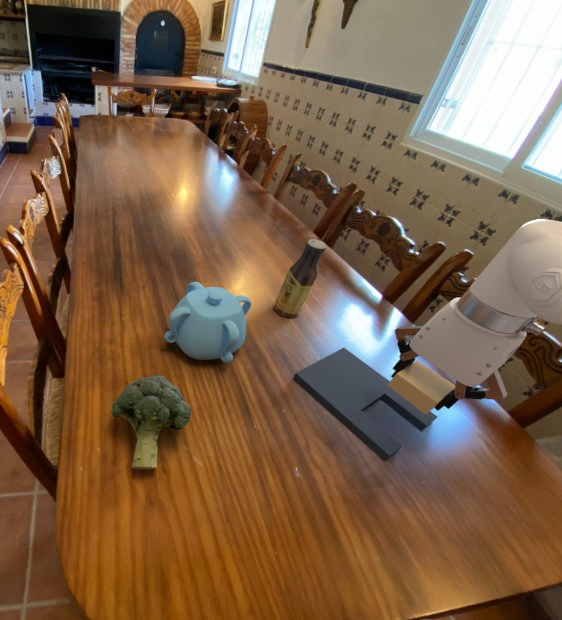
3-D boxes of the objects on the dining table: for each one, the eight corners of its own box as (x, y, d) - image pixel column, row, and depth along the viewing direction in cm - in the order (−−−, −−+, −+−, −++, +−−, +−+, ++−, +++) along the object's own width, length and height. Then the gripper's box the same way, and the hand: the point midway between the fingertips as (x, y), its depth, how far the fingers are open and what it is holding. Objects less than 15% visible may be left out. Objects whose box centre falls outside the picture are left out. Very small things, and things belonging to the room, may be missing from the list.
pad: (445, 398, 60) (458, 387, 58) (425, 414, 57) (437, 403, 55) (407, 371, 64) (417, 359, 62) (386, 385, 62) (396, 373, 60)
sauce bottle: (271, 301, 93) (298, 233, 80) (295, 305, 93) (326, 236, 80) (275, 317, 88) (304, 247, 75) (300, 321, 88) (335, 251, 75)
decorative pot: (224, 382, 72) (241, 333, 63) (154, 348, 77) (161, 299, 69) (248, 335, 83) (266, 288, 74) (186, 309, 88) (195, 262, 80)
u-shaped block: (432, 422, 68) (437, 416, 66) (384, 461, 61) (390, 455, 60) (340, 352, 80) (343, 347, 79) (292, 378, 74) (295, 372, 72)
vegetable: (87, 458, 55) (108, 365, 61) (140, 469, 63) (154, 386, 69) (147, 470, 47) (164, 362, 53) (198, 481, 55) (208, 386, 61)
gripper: (583, 342, 45) (484, 420, 57) (440, 271, 56) (382, 349, 68) (562, 362, 42) (462, 441, 54) (415, 283, 53) (358, 363, 65)
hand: (418, 389), depth 60 cm, fingers closed on pad, 6 cm apart
